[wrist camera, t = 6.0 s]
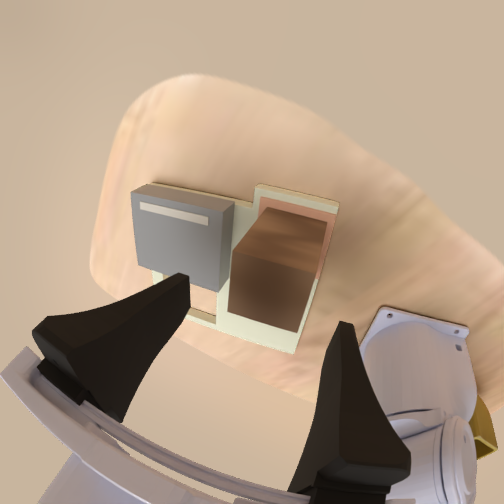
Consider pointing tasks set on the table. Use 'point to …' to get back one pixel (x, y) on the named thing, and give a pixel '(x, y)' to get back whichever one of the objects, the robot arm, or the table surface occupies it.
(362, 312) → the table surface
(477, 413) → the flower pot
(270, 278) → the walnut block
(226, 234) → the sliding cover
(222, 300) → the puzzle board
